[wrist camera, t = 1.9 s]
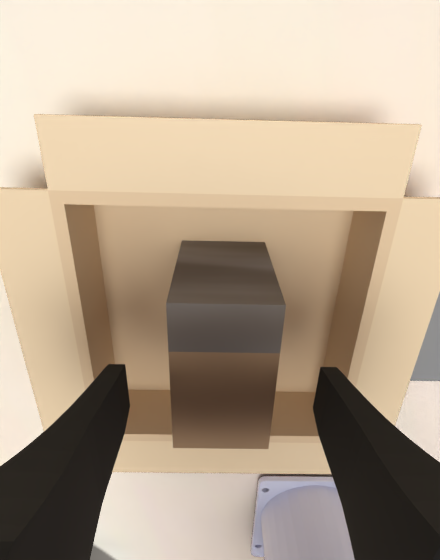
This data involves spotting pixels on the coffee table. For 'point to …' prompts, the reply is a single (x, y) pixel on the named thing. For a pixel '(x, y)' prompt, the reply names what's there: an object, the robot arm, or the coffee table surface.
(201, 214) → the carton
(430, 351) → the slate mat
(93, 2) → the coffee table surface
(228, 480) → the coffee table surface
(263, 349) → the walnut block
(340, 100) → the coffee table surface
